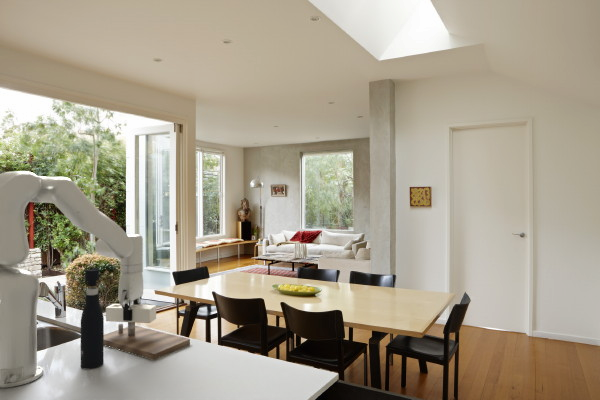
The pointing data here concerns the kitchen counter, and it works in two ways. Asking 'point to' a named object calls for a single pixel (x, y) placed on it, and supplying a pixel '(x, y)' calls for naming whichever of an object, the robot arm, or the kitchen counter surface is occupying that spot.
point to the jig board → (144, 341)
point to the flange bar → (138, 313)
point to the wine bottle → (92, 325)
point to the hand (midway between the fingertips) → (131, 317)
